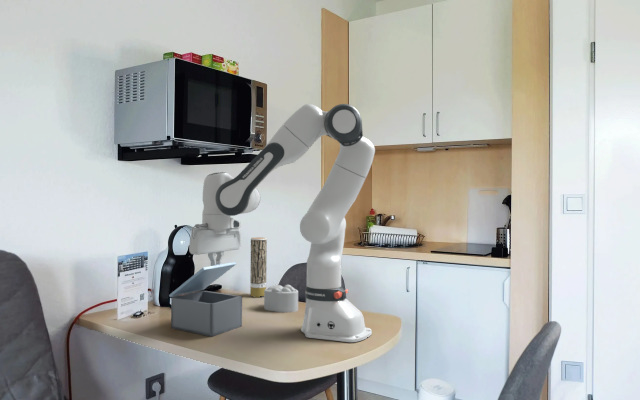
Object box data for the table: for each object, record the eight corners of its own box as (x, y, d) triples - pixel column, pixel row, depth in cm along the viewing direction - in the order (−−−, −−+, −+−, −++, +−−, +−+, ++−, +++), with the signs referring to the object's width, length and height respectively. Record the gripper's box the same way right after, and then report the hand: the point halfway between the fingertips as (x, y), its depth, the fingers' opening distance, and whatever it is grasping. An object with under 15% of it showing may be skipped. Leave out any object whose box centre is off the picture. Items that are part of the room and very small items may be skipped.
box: (241, 326, 151) (242, 296, 151) (211, 336, 139) (211, 304, 139) (202, 318, 160) (203, 290, 160) (171, 328, 148) (171, 297, 148)
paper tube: (247, 296, 196) (247, 238, 196) (255, 293, 203) (255, 237, 202) (261, 298, 194) (261, 239, 194) (269, 295, 200) (269, 237, 200)
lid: (236, 264, 153) (235, 262, 153) (204, 269, 140) (203, 267, 140) (203, 289, 160) (202, 287, 161) (169, 297, 148) (169, 295, 148)
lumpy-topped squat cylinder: (277, 304, 184) (277, 282, 184) (304, 308, 176) (304, 285, 176) (260, 309, 175) (260, 286, 175) (287, 314, 168) (288, 290, 168)
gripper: (199, 224, 137) (199, 271, 137) (244, 222, 155) (243, 263, 155) (184, 223, 140) (184, 269, 140) (230, 221, 158) (229, 261, 158)
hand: (215, 266), depth 148 cm, fingers closed, pressing on lid
